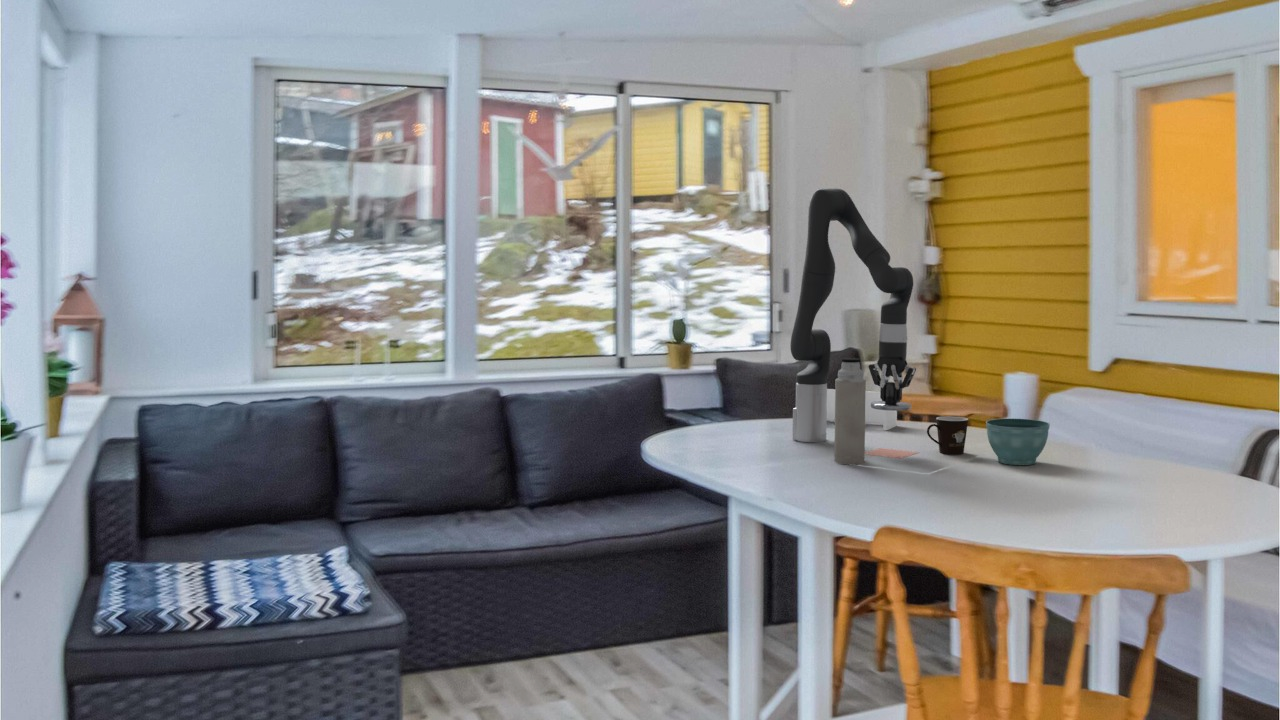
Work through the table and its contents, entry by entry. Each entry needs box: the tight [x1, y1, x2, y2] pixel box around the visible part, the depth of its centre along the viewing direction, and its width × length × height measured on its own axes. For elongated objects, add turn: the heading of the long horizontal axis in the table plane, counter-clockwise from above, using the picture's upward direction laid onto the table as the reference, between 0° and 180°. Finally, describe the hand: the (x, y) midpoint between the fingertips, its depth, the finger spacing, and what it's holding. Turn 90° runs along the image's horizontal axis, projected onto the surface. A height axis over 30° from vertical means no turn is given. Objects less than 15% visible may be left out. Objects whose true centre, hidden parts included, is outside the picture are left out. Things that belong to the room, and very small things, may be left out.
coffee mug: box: [926, 416, 969, 456], centre depth 320 cm, size 12×9×10 cm
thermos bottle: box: [833, 357, 867, 465], centre depth 308 cm, size 8×8×28 cm
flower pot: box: [985, 418, 1051, 466], centre depth 307 cm, size 16×16×11 cm
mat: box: [865, 447, 920, 460], centre depth 320 cm, size 12×12×1 cm
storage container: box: [827, 388, 898, 431], centre depth 375 cm, size 25×11×11 cm, turn 61°
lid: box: [871, 381, 912, 412], centre depth 319 cm, size 11×11×7 cm
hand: (891, 401), depth 319 cm, fingers closed on lid, 3 cm apart
